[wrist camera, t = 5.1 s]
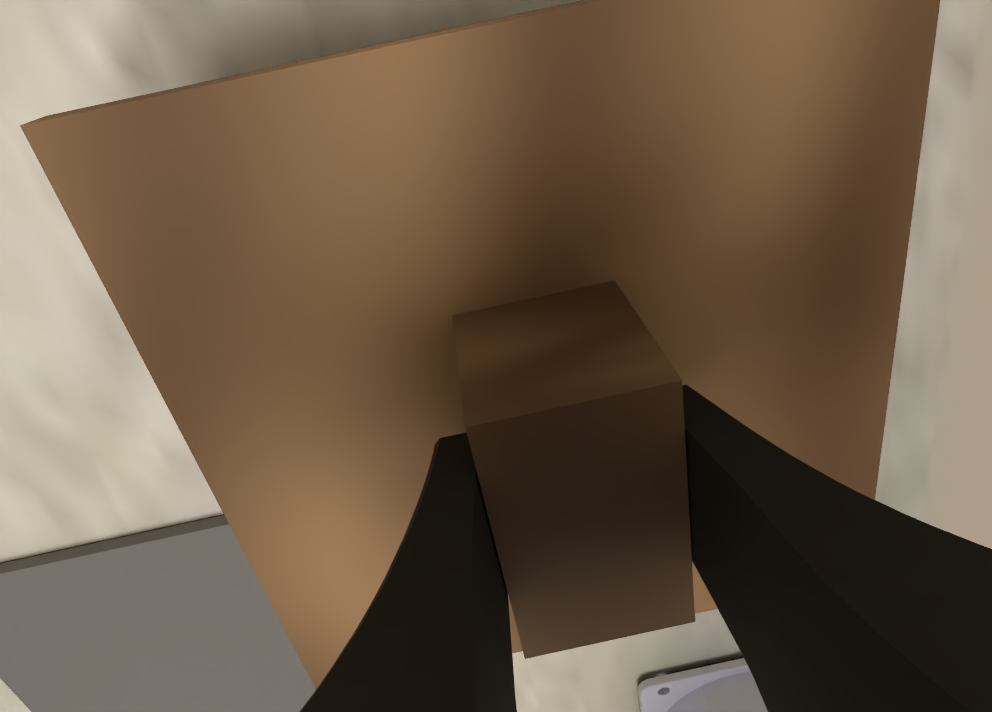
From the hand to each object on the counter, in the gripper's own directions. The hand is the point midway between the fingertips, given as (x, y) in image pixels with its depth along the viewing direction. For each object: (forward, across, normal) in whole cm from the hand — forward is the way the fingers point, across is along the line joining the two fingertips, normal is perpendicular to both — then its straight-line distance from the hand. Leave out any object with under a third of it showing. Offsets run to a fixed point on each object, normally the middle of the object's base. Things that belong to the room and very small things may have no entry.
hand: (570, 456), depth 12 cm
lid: (+3, 0, 0) cm, 3 cm away
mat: (+8, +12, +14) cm, 20 cm away
